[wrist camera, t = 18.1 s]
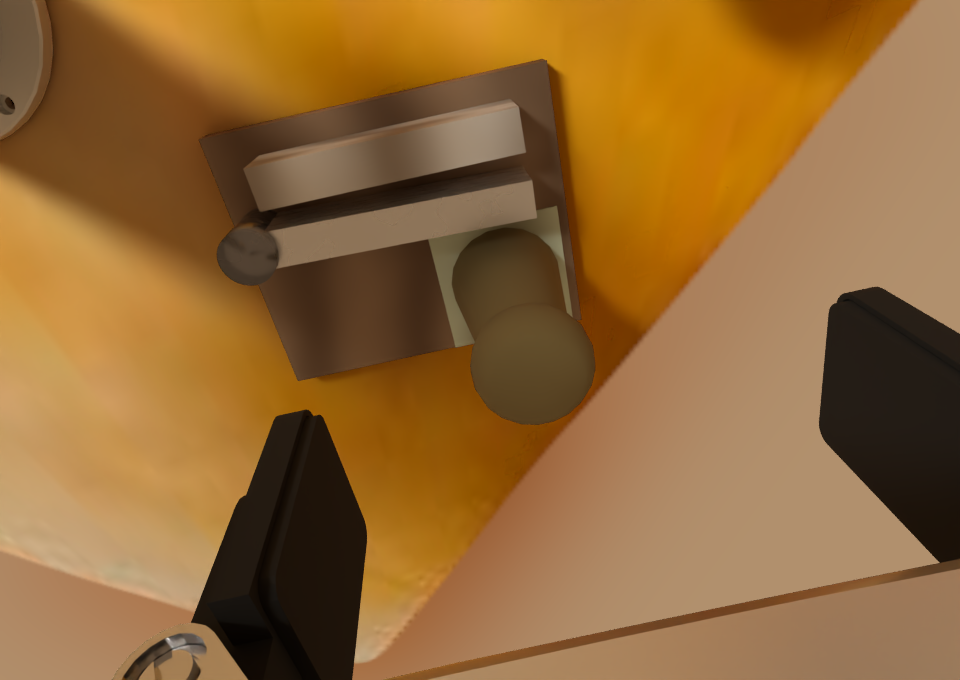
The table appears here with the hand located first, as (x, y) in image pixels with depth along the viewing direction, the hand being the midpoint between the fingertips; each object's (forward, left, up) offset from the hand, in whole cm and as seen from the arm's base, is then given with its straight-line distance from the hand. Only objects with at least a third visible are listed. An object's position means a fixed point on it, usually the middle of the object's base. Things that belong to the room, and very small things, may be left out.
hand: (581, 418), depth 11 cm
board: (-4, -3, -23) cm, 24 cm away
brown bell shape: (0, -7, -22) cm, 23 cm away
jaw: (-5, -1, -22) cm, 22 cm away
